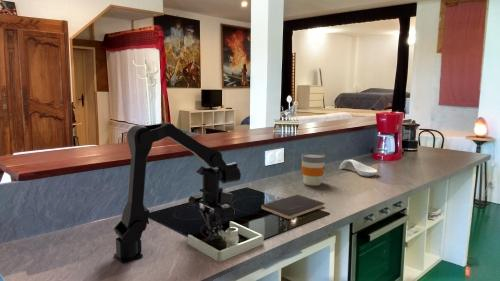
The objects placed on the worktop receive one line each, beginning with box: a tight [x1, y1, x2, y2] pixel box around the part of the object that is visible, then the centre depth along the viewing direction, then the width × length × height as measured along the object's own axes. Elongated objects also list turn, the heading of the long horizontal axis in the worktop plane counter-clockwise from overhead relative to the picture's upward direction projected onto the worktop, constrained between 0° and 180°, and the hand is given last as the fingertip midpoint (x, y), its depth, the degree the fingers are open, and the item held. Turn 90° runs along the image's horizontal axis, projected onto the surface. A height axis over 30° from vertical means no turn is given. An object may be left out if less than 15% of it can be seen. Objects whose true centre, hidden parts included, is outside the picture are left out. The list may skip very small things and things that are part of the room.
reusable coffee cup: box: [300, 152, 326, 186], centre depth 197 cm, size 13×13×15 cm
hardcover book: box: [260, 194, 326, 220], centre depth 160 cm, size 16×23×2 cm
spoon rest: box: [338, 159, 378, 177], centre depth 221 cm, size 24×12×7 cm, turn 38°
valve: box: [206, 219, 240, 249], centre depth 123 cm, size 7×7×12 cm
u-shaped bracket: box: [187, 220, 265, 263], centre depth 124 cm, size 19×16×3 cm
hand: (210, 229), depth 130 cm, fingers closed
